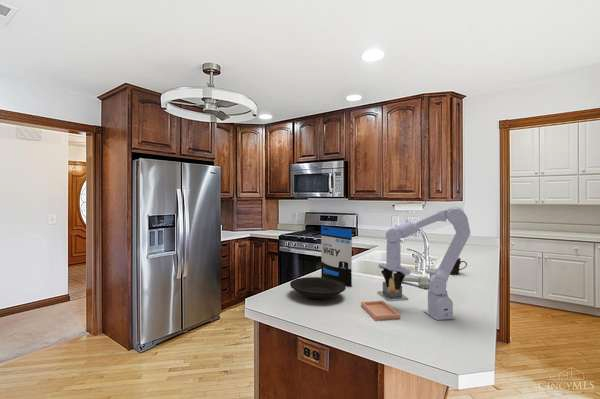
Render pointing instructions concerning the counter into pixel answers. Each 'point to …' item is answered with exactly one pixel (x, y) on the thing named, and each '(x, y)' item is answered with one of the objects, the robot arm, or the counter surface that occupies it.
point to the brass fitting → (392, 285)
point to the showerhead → (430, 271)
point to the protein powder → (336, 254)
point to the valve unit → (391, 294)
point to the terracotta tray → (380, 310)
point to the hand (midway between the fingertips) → (393, 288)
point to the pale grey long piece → (417, 280)
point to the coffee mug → (457, 267)
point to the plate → (317, 287)
